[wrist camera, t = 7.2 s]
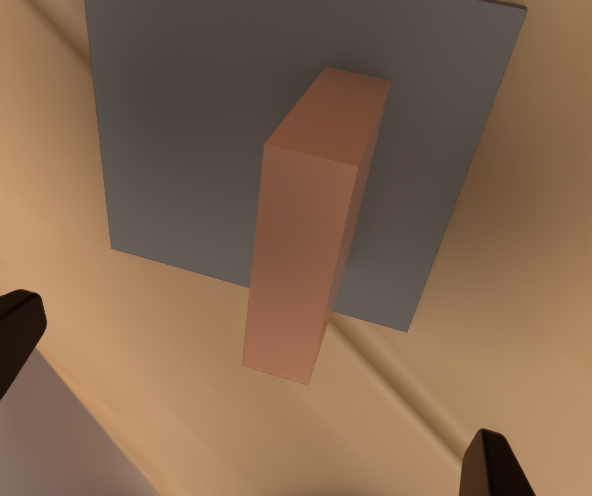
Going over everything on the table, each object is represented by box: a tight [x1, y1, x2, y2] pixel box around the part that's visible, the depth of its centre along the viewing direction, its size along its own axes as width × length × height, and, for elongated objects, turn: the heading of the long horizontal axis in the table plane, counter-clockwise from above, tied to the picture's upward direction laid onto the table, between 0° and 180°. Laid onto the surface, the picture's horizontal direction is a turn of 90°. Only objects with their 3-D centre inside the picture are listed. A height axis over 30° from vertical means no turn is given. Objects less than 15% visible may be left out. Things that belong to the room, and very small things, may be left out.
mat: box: [84, 0, 528, 332], centre depth 18 cm, size 12×13×1 cm
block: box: [242, 67, 391, 386], centre depth 15 cm, size 7×2×6 cm, turn 173°
